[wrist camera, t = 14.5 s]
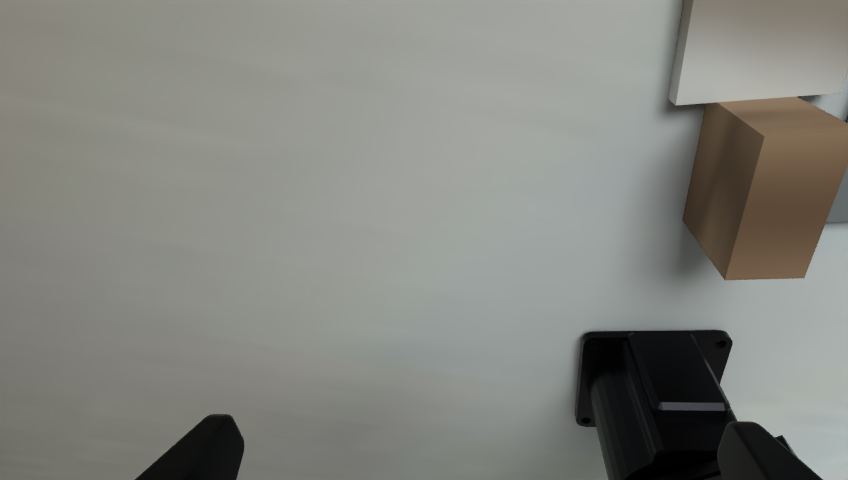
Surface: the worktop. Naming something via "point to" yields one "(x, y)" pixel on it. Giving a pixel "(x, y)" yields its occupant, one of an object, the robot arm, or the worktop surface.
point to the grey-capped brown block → (762, 129)
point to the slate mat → (840, 202)
